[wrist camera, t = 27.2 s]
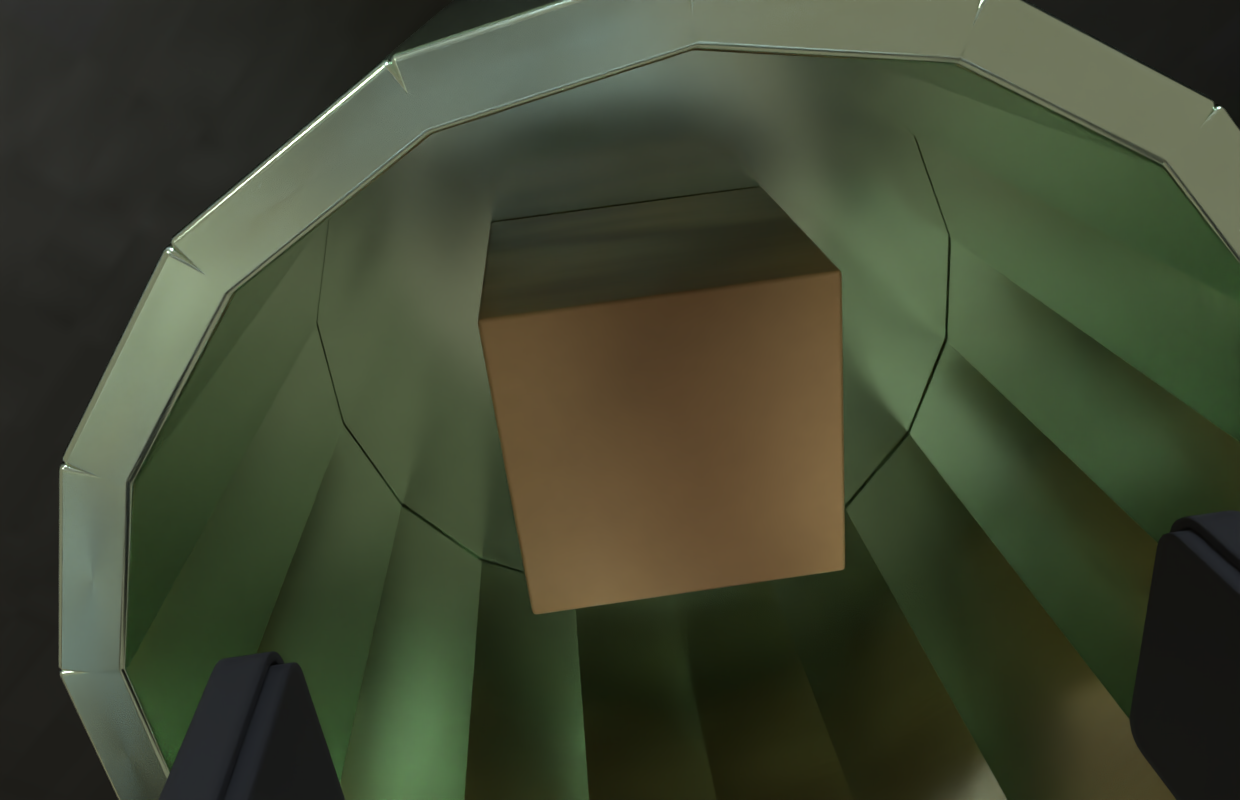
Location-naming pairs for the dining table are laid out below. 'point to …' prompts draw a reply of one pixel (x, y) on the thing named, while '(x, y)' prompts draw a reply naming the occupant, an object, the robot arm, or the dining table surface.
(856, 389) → the pot
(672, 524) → the block
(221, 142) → the dining table surface
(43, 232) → the dining table surface
